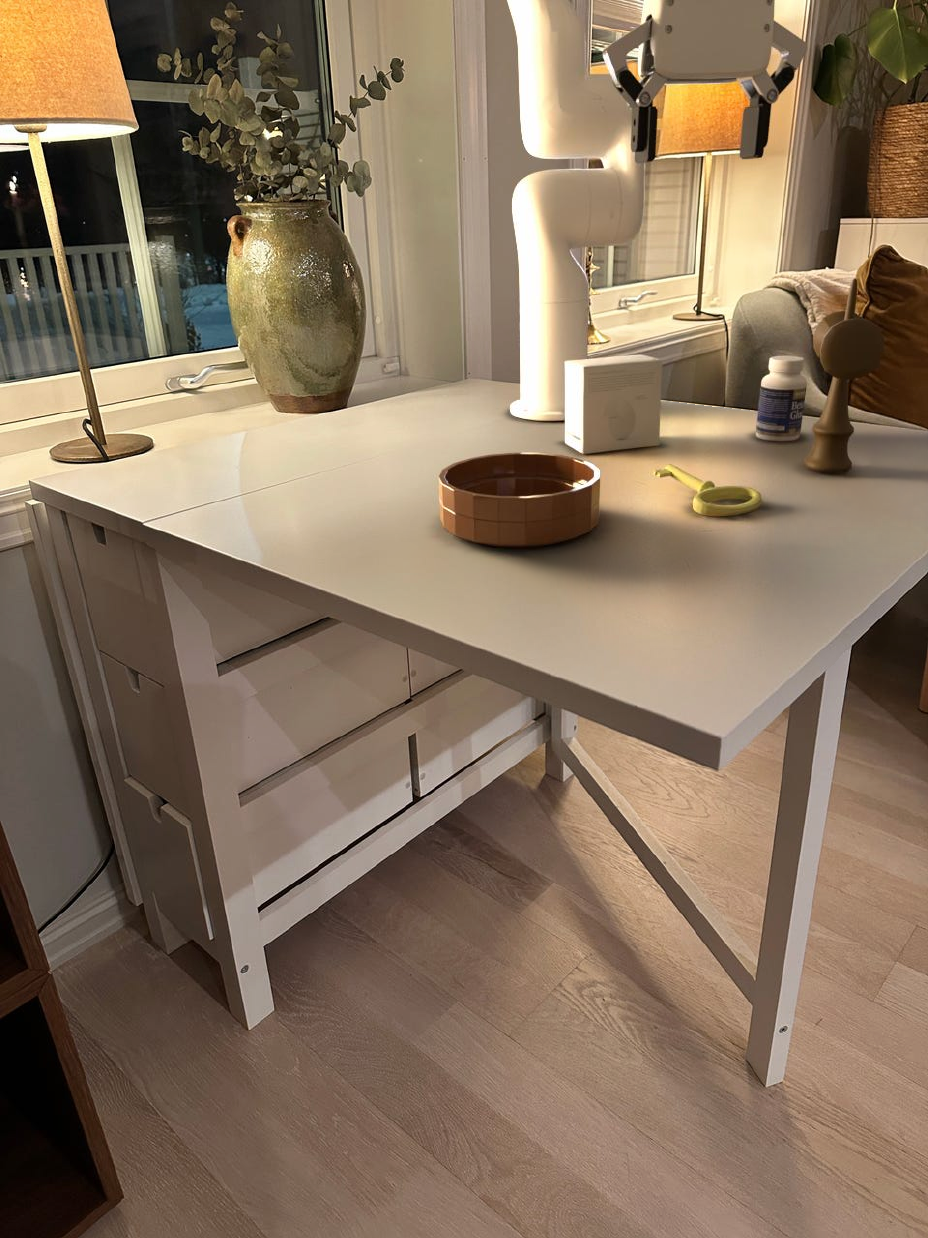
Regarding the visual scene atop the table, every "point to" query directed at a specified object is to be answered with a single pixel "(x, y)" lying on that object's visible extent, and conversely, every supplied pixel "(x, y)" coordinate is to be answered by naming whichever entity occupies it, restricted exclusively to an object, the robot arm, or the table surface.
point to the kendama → (841, 380)
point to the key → (714, 494)
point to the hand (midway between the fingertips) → (698, 159)
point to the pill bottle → (781, 400)
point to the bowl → (519, 499)
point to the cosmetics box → (612, 403)
